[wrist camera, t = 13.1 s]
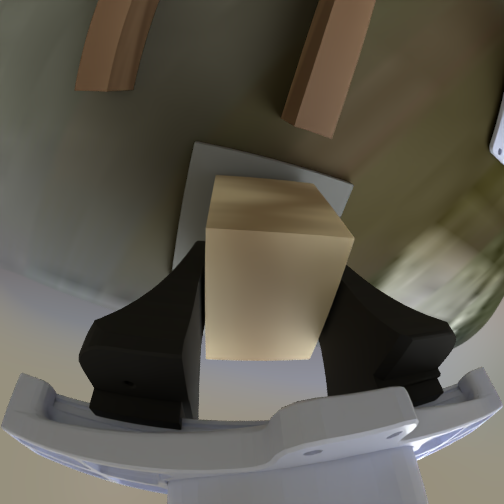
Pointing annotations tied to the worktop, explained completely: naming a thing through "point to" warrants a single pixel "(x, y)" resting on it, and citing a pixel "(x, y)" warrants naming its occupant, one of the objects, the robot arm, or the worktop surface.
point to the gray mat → (244, 165)
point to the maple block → (270, 268)
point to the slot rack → (305, 79)
